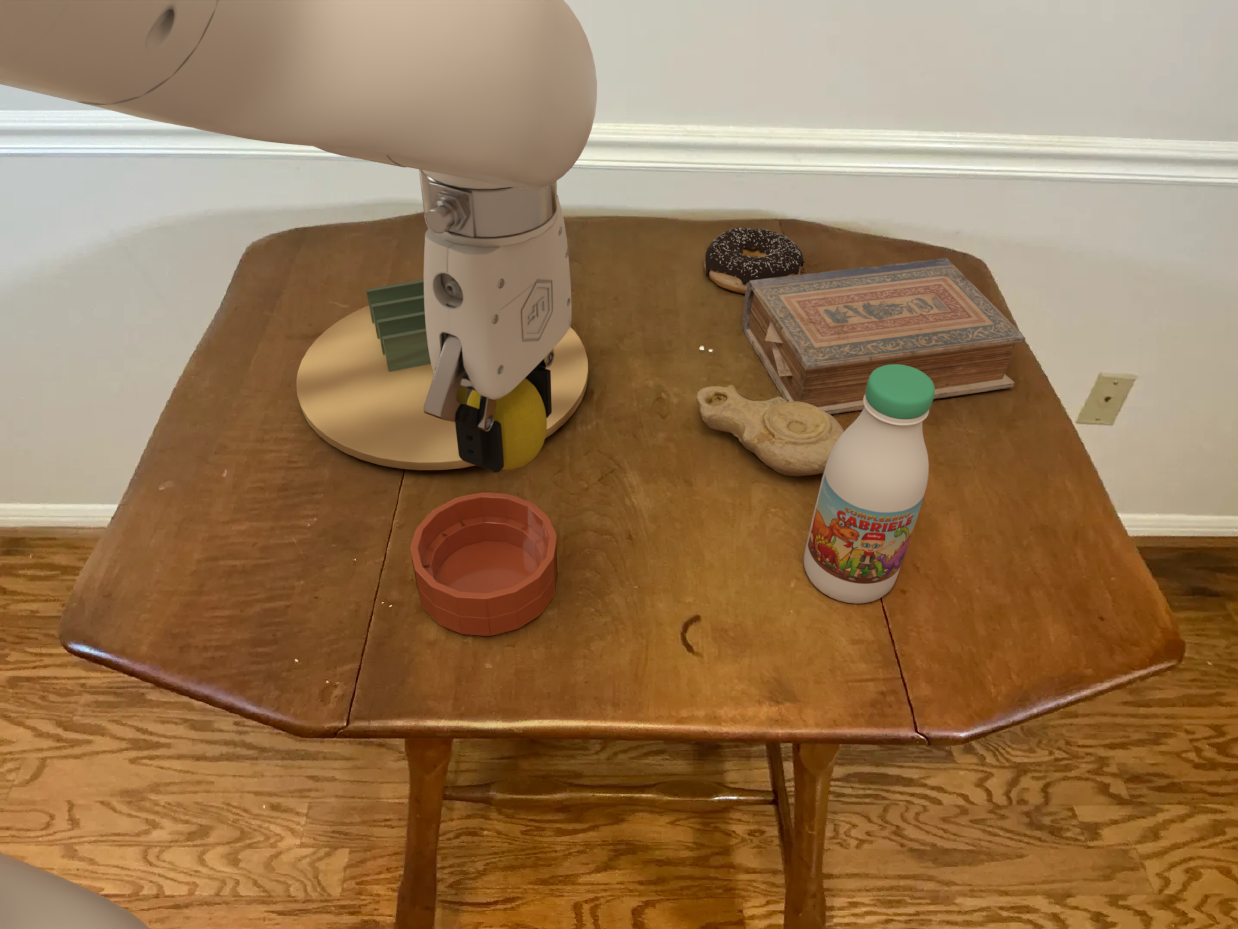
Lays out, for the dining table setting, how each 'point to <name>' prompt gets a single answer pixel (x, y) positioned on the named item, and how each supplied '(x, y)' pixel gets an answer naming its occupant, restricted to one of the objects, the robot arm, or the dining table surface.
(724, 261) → the donut
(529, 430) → the lemon
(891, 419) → the milk bottle
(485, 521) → the bowl
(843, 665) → the dining table surface
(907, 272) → the book
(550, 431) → the dish rack
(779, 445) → the oil lamp
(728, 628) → the dining table surface
